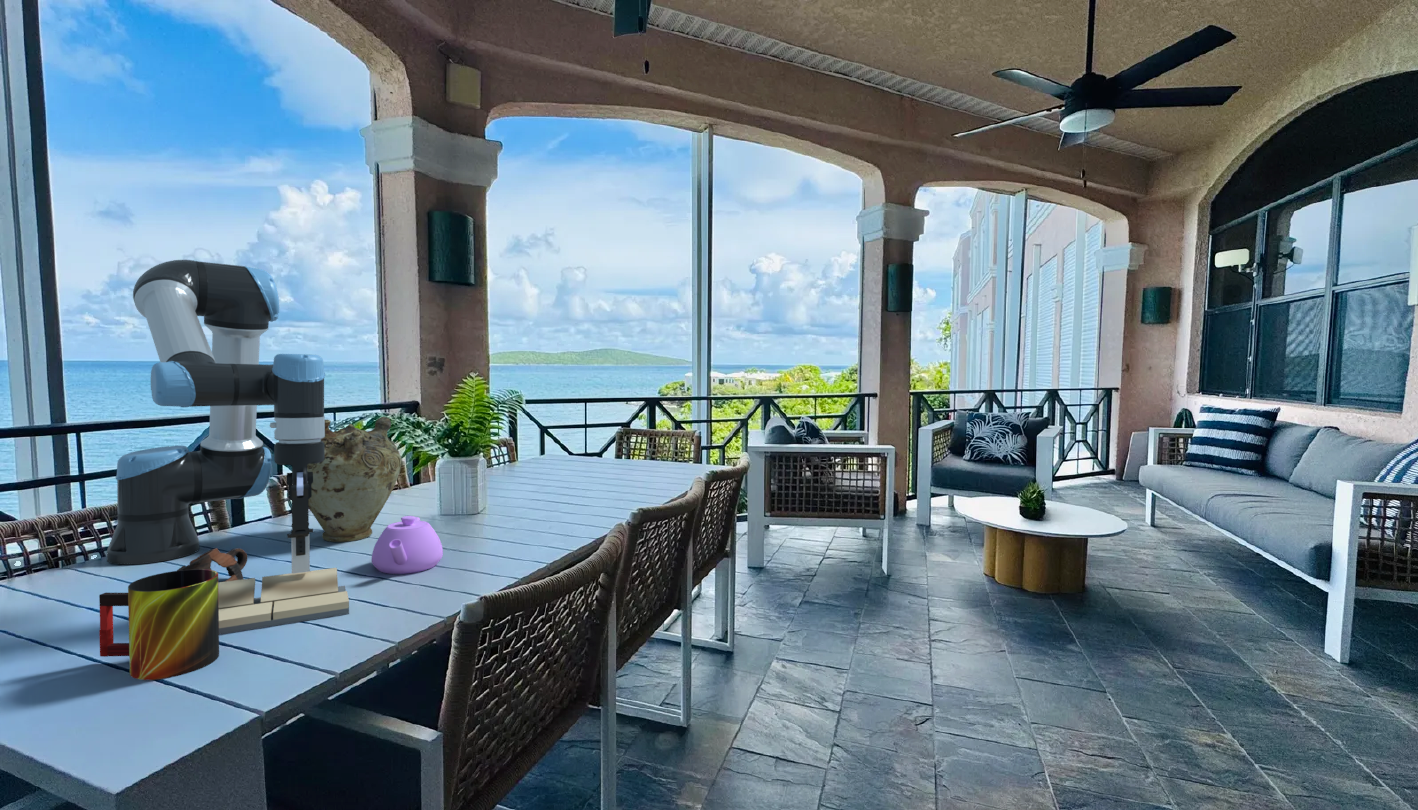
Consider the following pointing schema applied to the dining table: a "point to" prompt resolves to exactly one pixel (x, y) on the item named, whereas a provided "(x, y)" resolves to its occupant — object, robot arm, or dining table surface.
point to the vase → (353, 480)
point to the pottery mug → (221, 562)
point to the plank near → (236, 593)
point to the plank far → (299, 585)
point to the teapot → (407, 547)
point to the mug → (165, 623)
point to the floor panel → (283, 611)
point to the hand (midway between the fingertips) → (300, 571)
